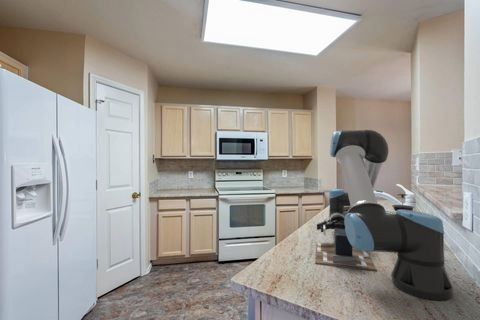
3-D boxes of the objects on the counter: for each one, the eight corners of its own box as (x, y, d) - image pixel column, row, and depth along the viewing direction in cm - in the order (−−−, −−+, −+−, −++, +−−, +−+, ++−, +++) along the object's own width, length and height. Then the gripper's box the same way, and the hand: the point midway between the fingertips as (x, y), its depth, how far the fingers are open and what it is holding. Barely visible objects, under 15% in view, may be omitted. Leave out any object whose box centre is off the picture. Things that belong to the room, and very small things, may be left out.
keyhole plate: (376, 271, 85) (376, 261, 85) (315, 263, 92) (315, 254, 92) (365, 248, 107) (364, 240, 107) (316, 243, 114) (316, 236, 114)
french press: (388, 239, 119) (387, 194, 119) (393, 235, 125) (392, 192, 126) (417, 245, 110) (416, 196, 111) (421, 240, 117) (420, 194, 117)
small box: (353, 264, 89) (353, 236, 90) (335, 262, 92) (334, 234, 92) (350, 254, 99) (350, 229, 100) (333, 252, 102) (333, 227, 102)
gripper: (365, 230, 118) (374, 245, 98) (312, 227, 126) (311, 239, 106) (364, 215, 118) (373, 226, 98) (312, 212, 126) (310, 222, 106)
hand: (341, 233), depth 102 cm, fingers open, 13 cm apart
